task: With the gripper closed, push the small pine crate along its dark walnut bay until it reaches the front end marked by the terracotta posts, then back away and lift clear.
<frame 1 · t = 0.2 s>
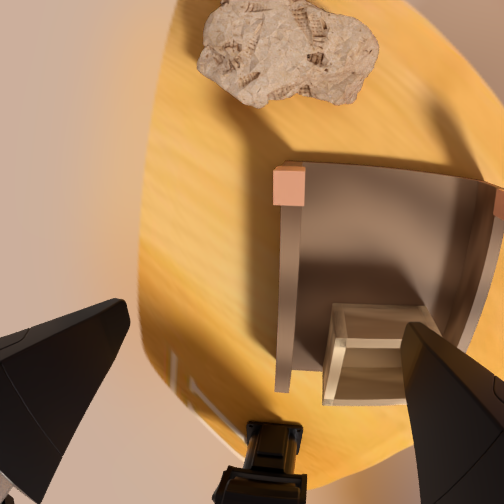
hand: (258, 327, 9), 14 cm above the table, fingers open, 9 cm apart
bay: (382, 282, 23), on the table
crate: (377, 356, 22), point 3 cm above the table, slide at 0.0 cm
stone: (285, 43, 18), on the table
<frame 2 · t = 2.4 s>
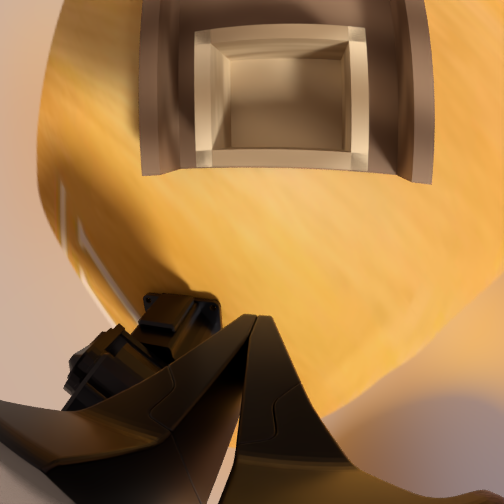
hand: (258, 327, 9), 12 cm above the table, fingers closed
bay: (285, 32, 15), on the table
crate: (283, 97, 14), point 3 cm above the table, slide at 0.0 cm
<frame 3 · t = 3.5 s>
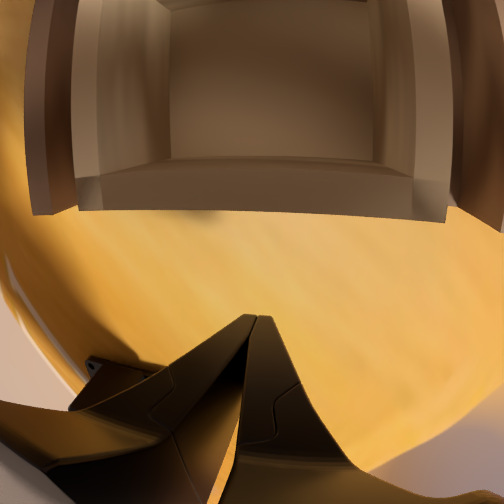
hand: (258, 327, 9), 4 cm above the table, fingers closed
crate: (258, 58, 7), point 3 cm above the table, slide at 0.0 cm
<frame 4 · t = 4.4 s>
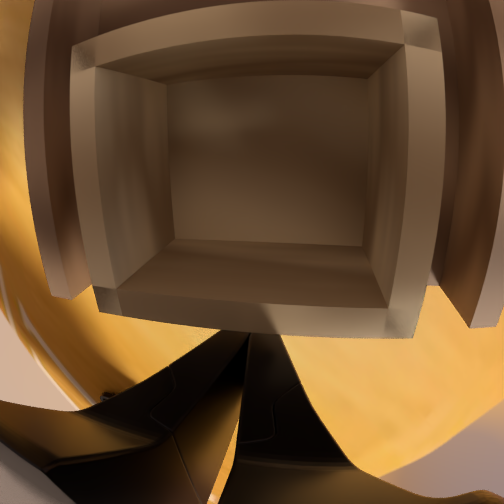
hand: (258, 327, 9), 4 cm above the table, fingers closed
bay: (267, 36, 9), on the table
crate: (255, 163, 8), point 3 cm above the table, slide at 0.4 cm, touching gripper
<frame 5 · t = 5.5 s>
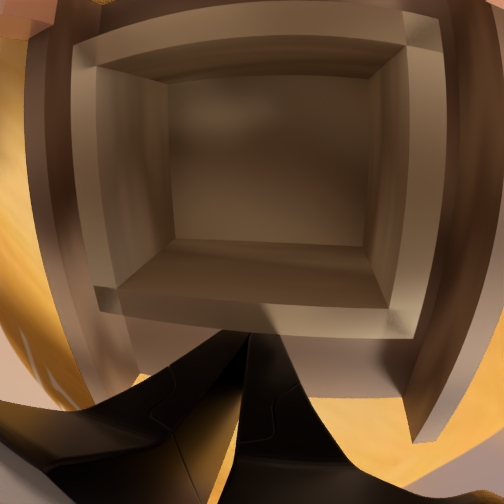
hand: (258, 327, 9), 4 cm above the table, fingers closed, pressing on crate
bay: (271, 200, 11), on the table
crate: (256, 163, 8), point 3 cm above the table, slide at 6.6 cm, touching gripper
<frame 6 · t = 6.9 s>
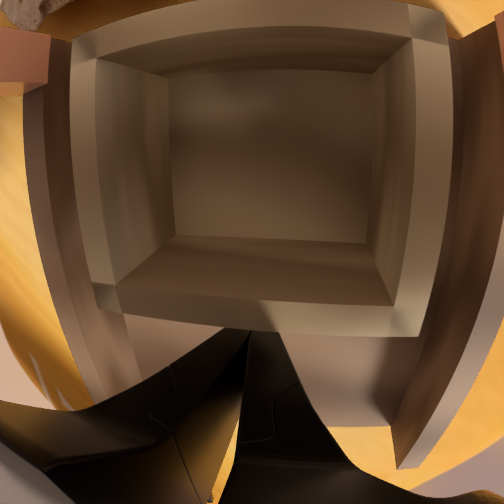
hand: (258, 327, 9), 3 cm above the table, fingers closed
bay: (272, 260, 12), on the table
crate: (259, 158, 7), point 3 cm above the table, slide at 9.1 cm
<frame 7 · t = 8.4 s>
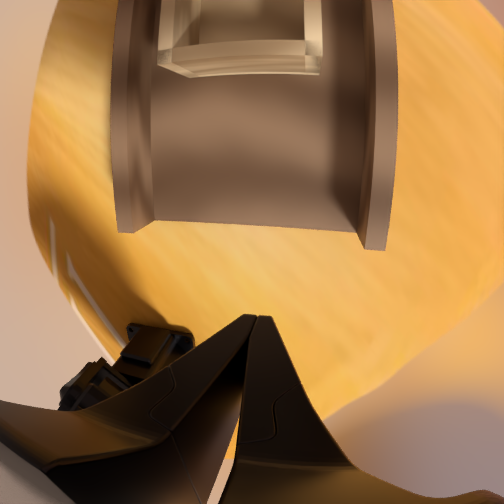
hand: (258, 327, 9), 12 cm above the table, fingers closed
bay: (254, 85, 17), on the table
crate: (245, 11, 13), point 3 cm above the table, slide at 9.1 cm
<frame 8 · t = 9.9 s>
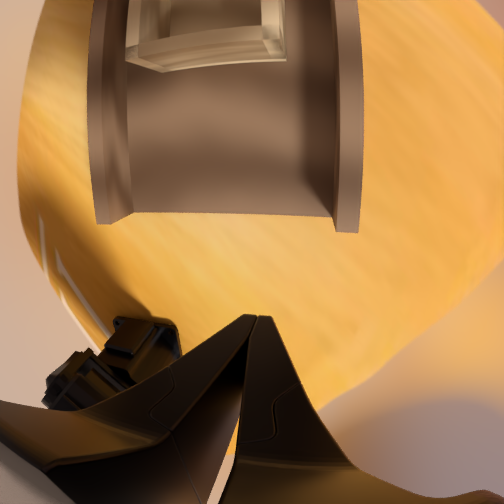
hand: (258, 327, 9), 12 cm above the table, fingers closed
bay: (224, 76, 17), on the table
crate: (210, 4, 13), point 3 cm above the table, slide at 9.1 cm
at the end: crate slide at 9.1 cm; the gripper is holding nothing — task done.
